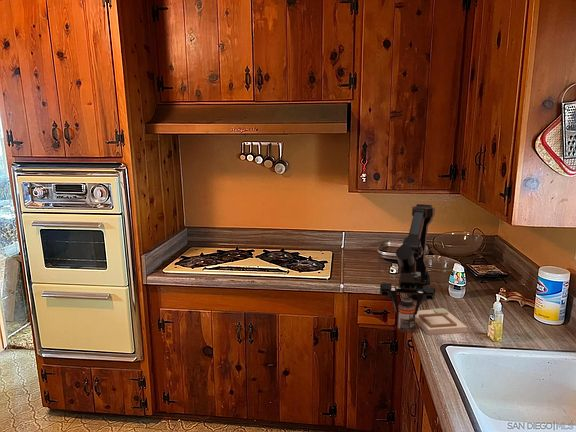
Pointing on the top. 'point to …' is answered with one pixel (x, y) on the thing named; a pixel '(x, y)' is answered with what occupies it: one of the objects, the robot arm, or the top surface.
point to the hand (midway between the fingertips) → (406, 313)
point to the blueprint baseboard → (439, 322)
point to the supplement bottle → (406, 316)
